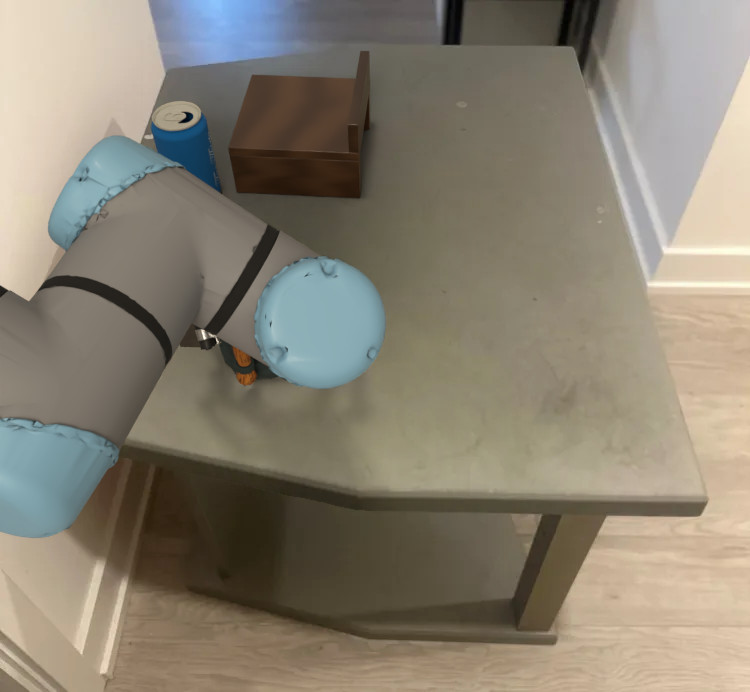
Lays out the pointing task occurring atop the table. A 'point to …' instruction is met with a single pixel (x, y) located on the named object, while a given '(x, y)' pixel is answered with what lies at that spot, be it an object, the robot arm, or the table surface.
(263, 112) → the brown wooden box
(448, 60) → the table surface
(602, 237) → the table surface
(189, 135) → the beverage can
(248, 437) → the table surface
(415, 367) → the table surface
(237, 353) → the mug
